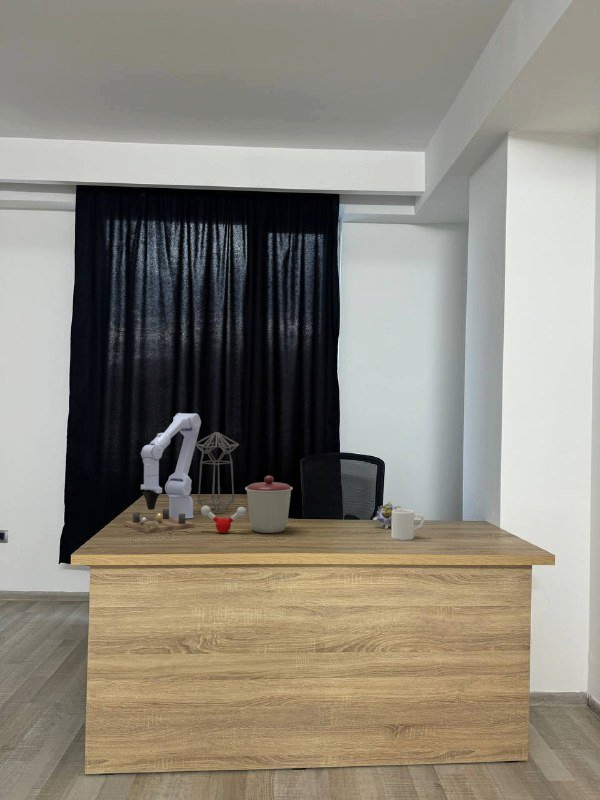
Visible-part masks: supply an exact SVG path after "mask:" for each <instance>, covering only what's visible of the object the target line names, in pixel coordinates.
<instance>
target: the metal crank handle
mask: <svg viewBox="0 0 600 800" xmlns="http://www.w3.org/2000/svg"><path fill="white" fill-rule="evenodd" d="M162 517H163V512H157V513H155V518H156V521H150V522H148V523H155V522H158V523H162ZM147 519H148V518H147V517H146V516H145V517H140V520H141V524H142V525H144V522H147Z"/></svg>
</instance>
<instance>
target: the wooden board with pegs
mask: <svg viewBox="0 0 600 800" xmlns="http://www.w3.org/2000/svg"><path fill="white" fill-rule="evenodd" d="M140 514H141V513H140V512H132V520H127V521H123V526H124V525H125V527H127V526H128V528H130V527H131V528H130V529H133V528H134V530H136V529H137V530H136V531H139V530H140V532H142V531H143V533H145V534H153V532H154V533H160V532H159V531H162V532H167V531H166V530H170V531H175V530H174V529H178V530H183V529H182V528H185V529H191V528H192V527H193V528H195V523H194V522H190V521H187V520H186V519H185V514H179V519H177V518H173V517H170V516H169V508H167V509H165V508H164V509H162V523H158V522H155V523H148V522H150V521H156V517H153V518H152V517H151V518H147V522H144V525H142V524H141V515H140Z"/></svg>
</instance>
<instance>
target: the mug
mask: <svg viewBox="0 0 600 800" xmlns="http://www.w3.org/2000/svg"><path fill="white" fill-rule="evenodd" d="M415 517H417V518H420V519H421V521H420V523H419V524H418V525H417V526H415ZM425 521H426V520H425V518H424V516H423V515H422V514H420V513H416V514H415V512H414V510H412V509H403V508H400V509H396V510H392V524H391V535H390V536H391V538H392V539H393V540H399V541H411V540H413V539H414V537H415V533H414V532H415V531H416V530H418V529H421V528H422V527H423V526H424V523H425Z"/></svg>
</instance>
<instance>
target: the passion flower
mask: <svg viewBox="0 0 600 800" xmlns="http://www.w3.org/2000/svg"><path fill="white" fill-rule="evenodd" d="M377 509H378V510H377V511H376V515H375V516H374V517H373V518H372V520H373V521H377V520H378V521H379V527H384V530H387V529H389V527H390V526H392V510H396V509H402V508H401V505H398V506H394V505H393V503H392V502H391V501H389V502H388V503H386V504H384V505H380V506H377Z"/></svg>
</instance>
